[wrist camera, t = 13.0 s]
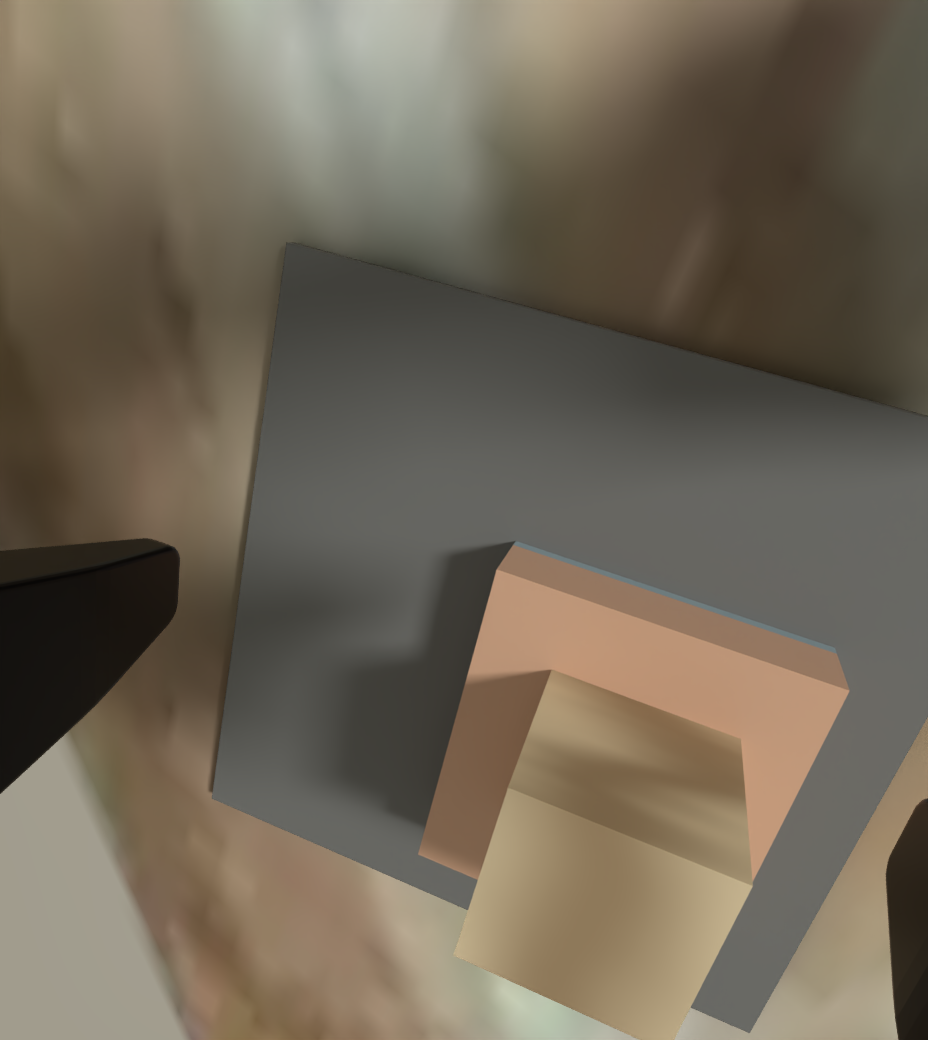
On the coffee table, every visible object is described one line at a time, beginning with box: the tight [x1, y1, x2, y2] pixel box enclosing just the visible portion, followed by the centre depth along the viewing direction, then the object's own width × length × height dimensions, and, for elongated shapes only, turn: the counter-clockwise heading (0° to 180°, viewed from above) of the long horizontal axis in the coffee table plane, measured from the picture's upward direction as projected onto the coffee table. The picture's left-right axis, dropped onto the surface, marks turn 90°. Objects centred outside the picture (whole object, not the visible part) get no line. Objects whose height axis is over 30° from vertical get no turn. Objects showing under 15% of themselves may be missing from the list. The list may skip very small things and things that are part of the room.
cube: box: [454, 670, 753, 1040], centre depth 16 cm, size 4×4×4 cm
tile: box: [418, 541, 850, 882], centre depth 20 cm, size 8×2×9 cm
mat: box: [212, 243, 928, 1033], centre depth 21 cm, size 18×18×1 cm
